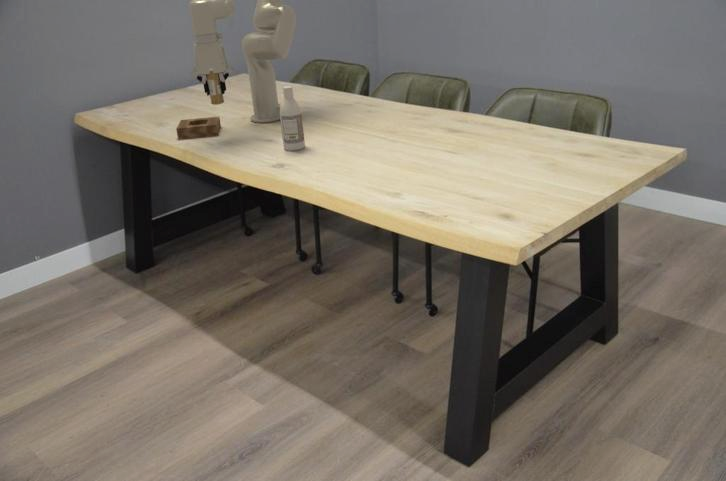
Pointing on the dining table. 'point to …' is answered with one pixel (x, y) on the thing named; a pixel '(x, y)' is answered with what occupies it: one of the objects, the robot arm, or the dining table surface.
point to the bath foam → (291, 122)
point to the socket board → (198, 128)
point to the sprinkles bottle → (214, 88)
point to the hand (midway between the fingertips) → (216, 93)
